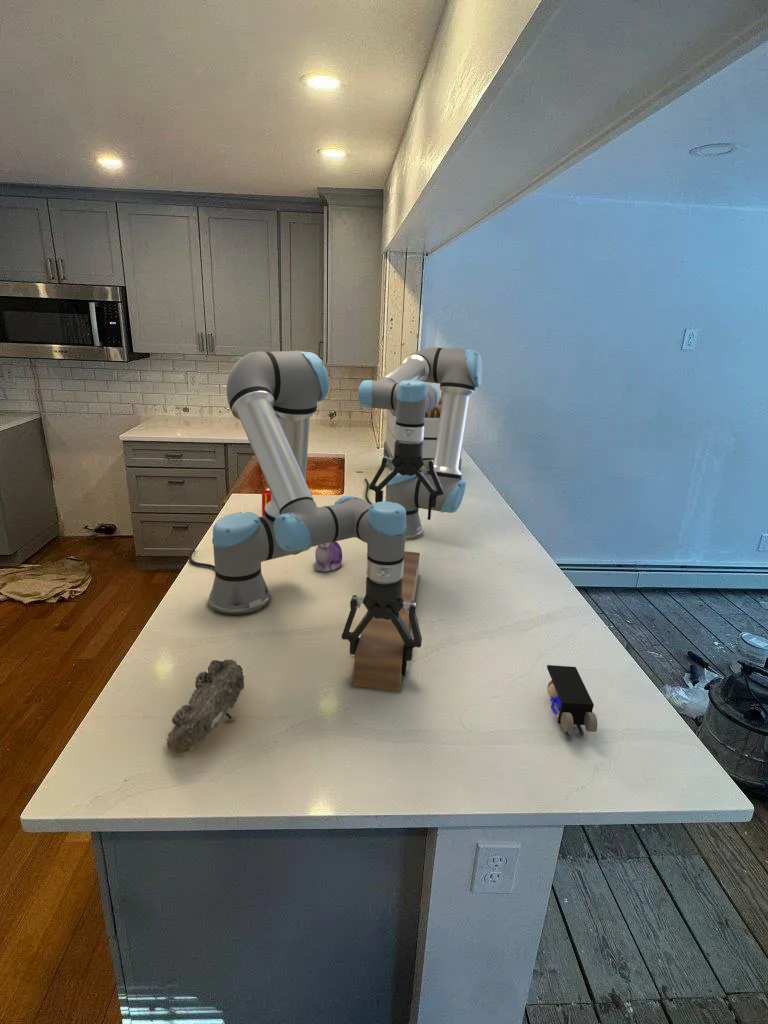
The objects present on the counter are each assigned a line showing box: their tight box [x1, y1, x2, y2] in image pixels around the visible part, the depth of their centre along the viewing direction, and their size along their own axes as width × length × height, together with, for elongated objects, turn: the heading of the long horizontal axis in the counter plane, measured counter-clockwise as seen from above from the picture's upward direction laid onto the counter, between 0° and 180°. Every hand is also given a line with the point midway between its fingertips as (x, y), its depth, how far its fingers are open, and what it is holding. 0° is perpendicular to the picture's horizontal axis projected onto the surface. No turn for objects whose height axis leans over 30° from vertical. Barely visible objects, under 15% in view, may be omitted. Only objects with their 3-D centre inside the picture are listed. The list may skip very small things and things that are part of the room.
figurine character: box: [546, 664, 598, 737], centre depth 111 cm, size 7×8×15 cm
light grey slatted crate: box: [383, 391, 464, 473], centre depth 268 cm, size 34×33×41 cm
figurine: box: [314, 541, 343, 572], centre depth 170 cm, size 9×10×15 cm
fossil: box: [166, 658, 245, 754], centre depth 106 cm, size 22×10×15 cm
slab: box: [353, 550, 421, 692], centre depth 143 cm, size 55×10×7 cm, turn 173°
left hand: (380, 669), depth 124 cm, fingers closed on slab, 10 cm apart
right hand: (404, 516), depth 157 cm, fingers open, 13 cm apart
